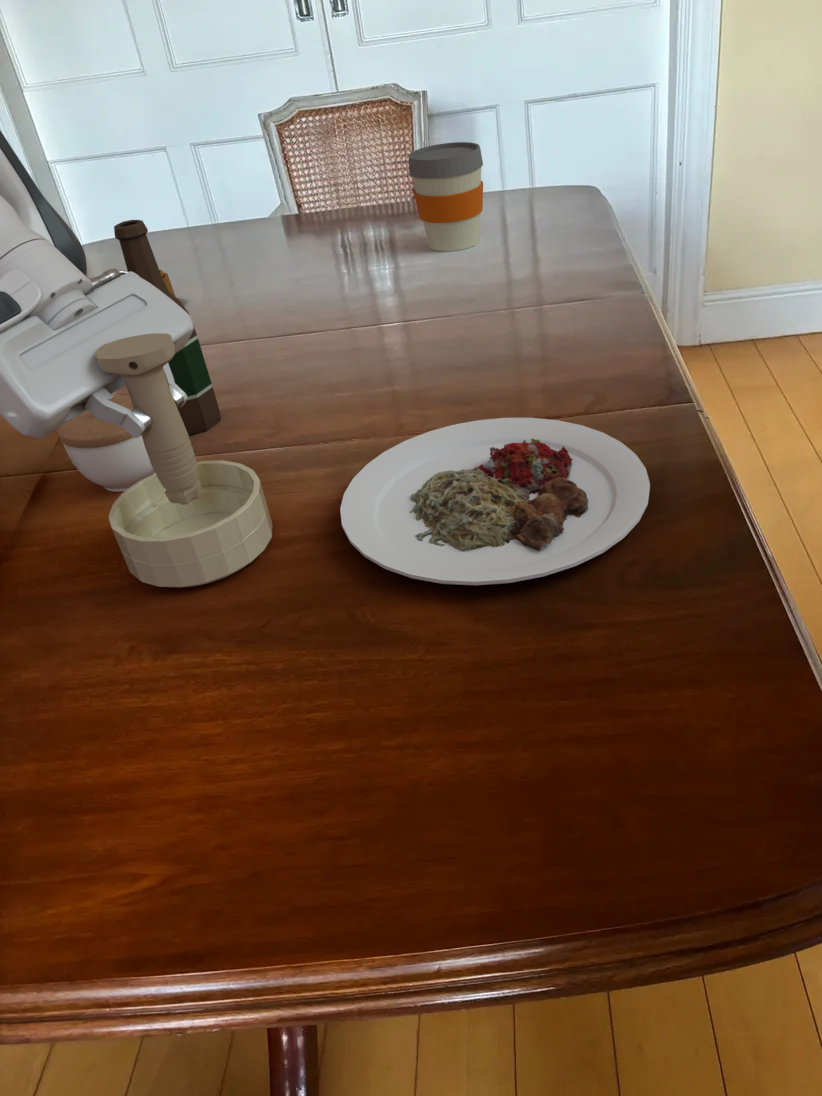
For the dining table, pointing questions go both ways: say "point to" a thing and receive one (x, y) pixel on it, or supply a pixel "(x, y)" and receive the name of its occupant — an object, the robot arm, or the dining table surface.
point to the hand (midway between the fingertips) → (163, 418)
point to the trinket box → (106, 450)
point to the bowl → (193, 527)
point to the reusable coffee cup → (448, 193)
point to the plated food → (495, 501)
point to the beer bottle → (189, 360)
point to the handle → (156, 409)
